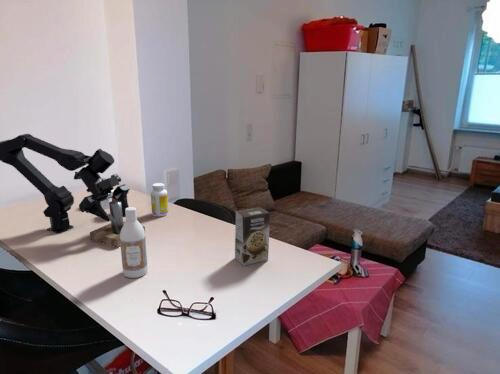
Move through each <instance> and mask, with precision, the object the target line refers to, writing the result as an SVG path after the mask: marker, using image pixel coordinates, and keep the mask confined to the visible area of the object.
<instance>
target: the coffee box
mask: <svg viewBox="0 0 500 374" xmlns="http://www.w3.org/2000/svg"><path fill="white" fill-rule="evenodd" d="M270 218H271V212H269V211H267V210H266V209H264V208H263V207H261V206H260V207H251V208H245V209H241V210H235V233H234V235H235V236H234V237H235V239H234V240H235V241H234V258H235V259H236V260H237V262H239V263H240V264H241V265H242V267H243V266H244V267H245V266H249V265H252V264H256V263H261V262H266V261H269V248H270V245H269V244H270V222H271V219H270Z"/></svg>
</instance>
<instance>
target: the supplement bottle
mask: <svg viewBox="0 0 500 374" xmlns="http://www.w3.org/2000/svg"><path fill="white" fill-rule="evenodd" d="M168 196H169V195H168V191H167V189H165V184H164V183H162V182H155V183H152V190H150V201H151V202H150V203H151V214H152V216H154V217H157V218H159V217H165V216H167V215H168V214H169V198H168Z"/></svg>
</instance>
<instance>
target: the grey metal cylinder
mask: <svg viewBox="0 0 500 374" xmlns="http://www.w3.org/2000/svg"><path fill="white" fill-rule="evenodd" d="M109 207H110V208H109V218H110V223H111V228H112V233H113V234H117V235H118V234H120V232H121V229H122V227H123V221H124V216H122V204H121V201H111V202H109Z"/></svg>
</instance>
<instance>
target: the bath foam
mask: <svg viewBox="0 0 500 374" xmlns="http://www.w3.org/2000/svg"><path fill="white" fill-rule="evenodd" d="M125 214H126V216H125V221H124V222H125V224H124V225H123V227H122V229H121V232H120V245H121V247H120V254H121V266H122V273H123V275H124V277H126V278H130V279H137V278H141V277H143V276H145V275H146V274H147V273H148V255H147V252H148V251H147V238H146V237H147V236H146V230H145V231H144V229H143V227H142V226H143V225H142V224H141V223H140V222H139V220H138V216H137V214H138V213H137V207H135V206H129V207H128V208H126V209H125Z"/></svg>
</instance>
